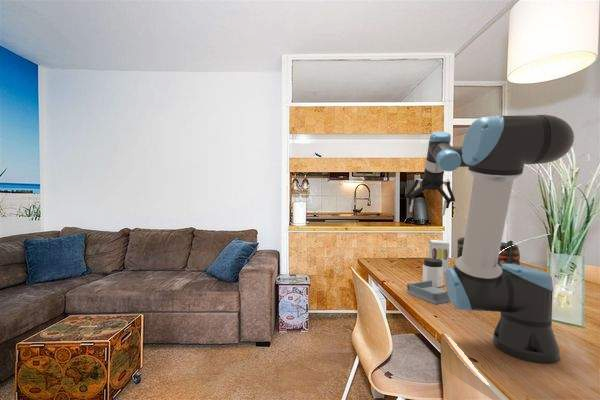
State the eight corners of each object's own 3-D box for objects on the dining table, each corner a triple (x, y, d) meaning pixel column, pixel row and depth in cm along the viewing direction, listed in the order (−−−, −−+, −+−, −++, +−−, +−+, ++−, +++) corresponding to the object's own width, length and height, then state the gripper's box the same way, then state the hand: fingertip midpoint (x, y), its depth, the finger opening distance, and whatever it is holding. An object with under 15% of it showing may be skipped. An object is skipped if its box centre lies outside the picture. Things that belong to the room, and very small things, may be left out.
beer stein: (530, 282, 151) (531, 242, 151) (497, 279, 155) (498, 240, 155) (515, 272, 169) (515, 236, 169) (485, 270, 173) (486, 235, 173)
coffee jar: (474, 273, 167) (474, 239, 167) (458, 271, 170) (458, 238, 170) (471, 269, 176) (471, 237, 176) (456, 267, 179) (456, 236, 179)
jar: (435, 288, 140) (435, 262, 140) (419, 284, 147) (419, 259, 147) (446, 285, 145) (446, 260, 145) (430, 281, 152) (430, 257, 152)
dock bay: (459, 299, 126) (459, 289, 126) (435, 304, 120) (435, 294, 120) (430, 288, 140) (430, 280, 140) (407, 293, 134) (407, 284, 134)
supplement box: (430, 271, 170) (430, 241, 169) (428, 267, 179) (428, 239, 178) (449, 273, 167) (449, 242, 167) (446, 269, 176) (446, 240, 175)
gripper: (466, 167, 126) (455, 210, 137) (402, 163, 133) (397, 205, 144) (469, 175, 120) (458, 219, 131) (403, 171, 127) (397, 213, 137)
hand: (426, 212), depth 137 cm, fingers open, 13 cm apart
